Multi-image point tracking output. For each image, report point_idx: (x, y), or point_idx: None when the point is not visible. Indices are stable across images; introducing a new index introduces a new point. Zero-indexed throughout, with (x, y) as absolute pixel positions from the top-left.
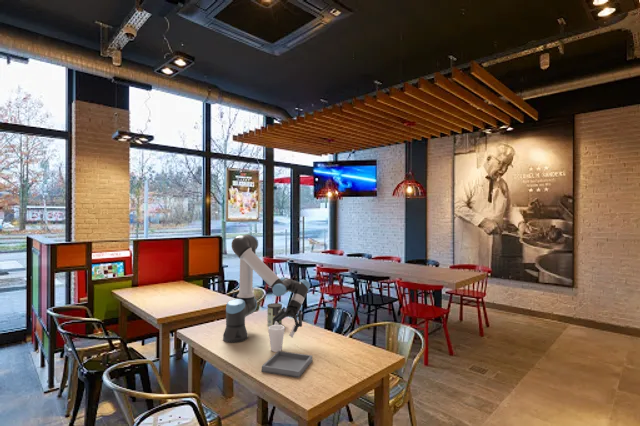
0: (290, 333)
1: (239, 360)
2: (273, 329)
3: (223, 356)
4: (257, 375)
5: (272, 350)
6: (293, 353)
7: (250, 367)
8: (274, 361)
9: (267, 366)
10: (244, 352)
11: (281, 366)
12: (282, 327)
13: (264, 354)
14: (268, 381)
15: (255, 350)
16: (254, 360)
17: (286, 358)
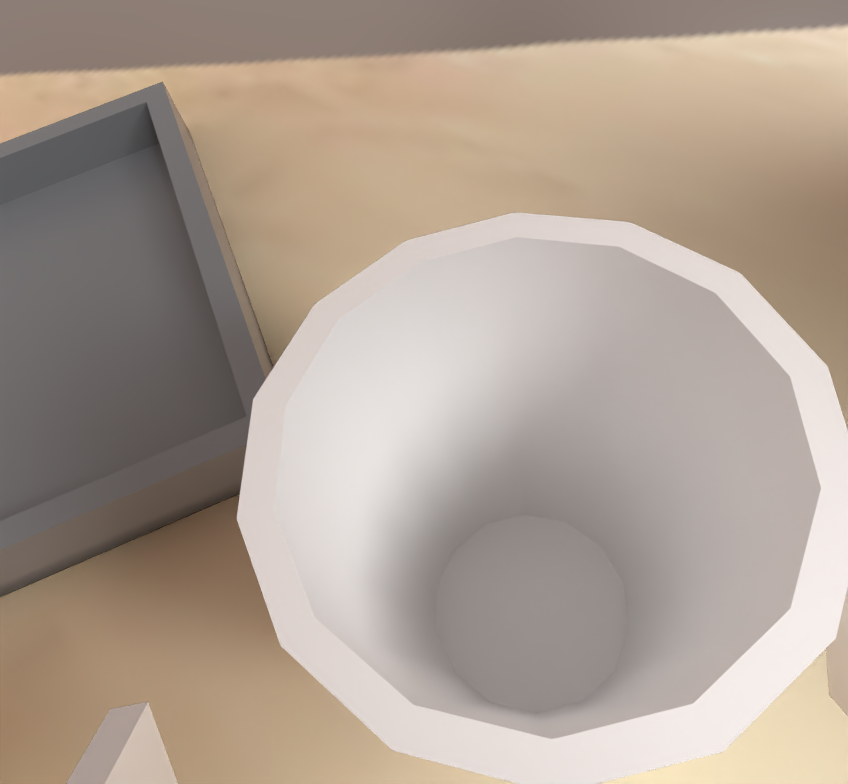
0: (118, 745)
1: (581, 103)
2: (756, 547)
3: (812, 38)
4: (178, 86)
5: (518, 512)
6: (9, 525)
7: (350, 108)
8: (202, 298)
9: (102, 109)
10: (771, 227)
11: (52, 280)
12: (471, 715)
13: None
14: (30, 98)
15: None
16: (455, 200)
17: (122, 453)
